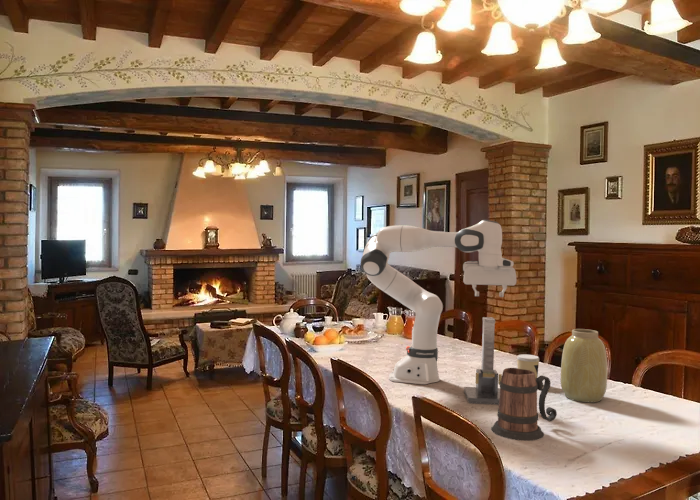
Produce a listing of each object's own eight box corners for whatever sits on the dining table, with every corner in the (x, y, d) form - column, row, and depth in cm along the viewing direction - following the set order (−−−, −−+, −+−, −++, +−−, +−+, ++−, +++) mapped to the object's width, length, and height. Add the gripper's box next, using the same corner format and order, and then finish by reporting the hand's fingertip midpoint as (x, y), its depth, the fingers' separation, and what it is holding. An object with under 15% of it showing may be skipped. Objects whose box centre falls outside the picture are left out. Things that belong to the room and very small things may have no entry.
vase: (604, 394, 232) (606, 329, 231) (608, 406, 216) (610, 336, 215) (559, 389, 238) (561, 326, 237) (560, 401, 221) (562, 332, 221)
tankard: (511, 443, 175) (513, 379, 175) (480, 425, 191) (482, 366, 191) (572, 435, 183) (573, 374, 183) (537, 418, 199) (539, 362, 199)
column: (483, 378, 220) (484, 319, 220) (481, 374, 226) (482, 317, 226) (493, 378, 220) (495, 319, 219) (491, 375, 226) (492, 317, 225)
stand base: (468, 403, 216) (469, 375, 216) (464, 391, 232) (464, 365, 232) (511, 405, 215) (511, 377, 214) (503, 393, 231) (504, 367, 230)
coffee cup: (539, 387, 241) (540, 359, 240) (517, 385, 243) (517, 358, 242) (537, 381, 250) (538, 354, 250) (515, 380, 252) (516, 353, 251)
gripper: (463, 261, 220) (463, 296, 220) (517, 262, 217) (516, 298, 218) (462, 260, 226) (461, 294, 226) (514, 261, 224) (513, 296, 224)
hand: (489, 296), depth 222 cm, fingers open, 8 cm apart
